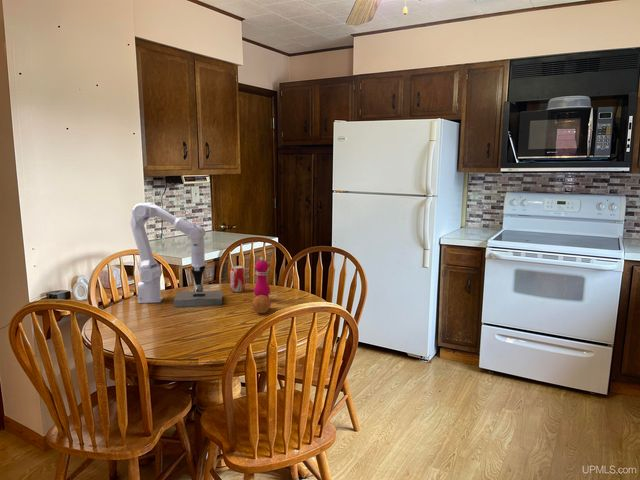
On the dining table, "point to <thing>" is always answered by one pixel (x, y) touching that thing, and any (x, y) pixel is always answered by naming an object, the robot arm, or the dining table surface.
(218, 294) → the dock plate
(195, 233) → the robot arm
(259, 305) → the potato
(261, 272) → the pepper mill
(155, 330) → the dining table surface
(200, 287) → the steel peg
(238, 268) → the soda can
